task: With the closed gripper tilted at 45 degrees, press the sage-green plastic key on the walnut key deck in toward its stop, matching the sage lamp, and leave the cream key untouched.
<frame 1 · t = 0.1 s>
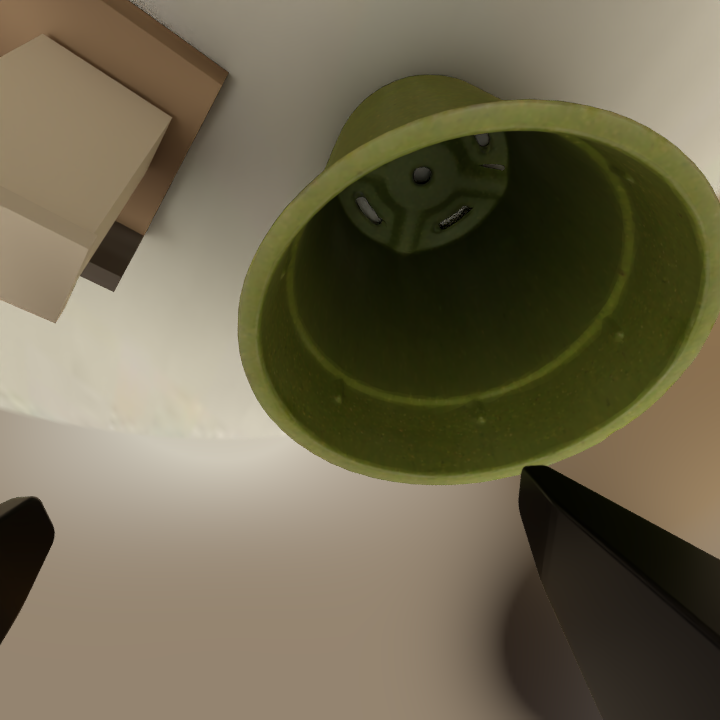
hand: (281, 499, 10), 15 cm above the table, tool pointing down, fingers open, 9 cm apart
cream key: (47, 160, 15), point 6 cm above the table, slide at 0.0 cm
plant pot: (423, 165, 22), on the table
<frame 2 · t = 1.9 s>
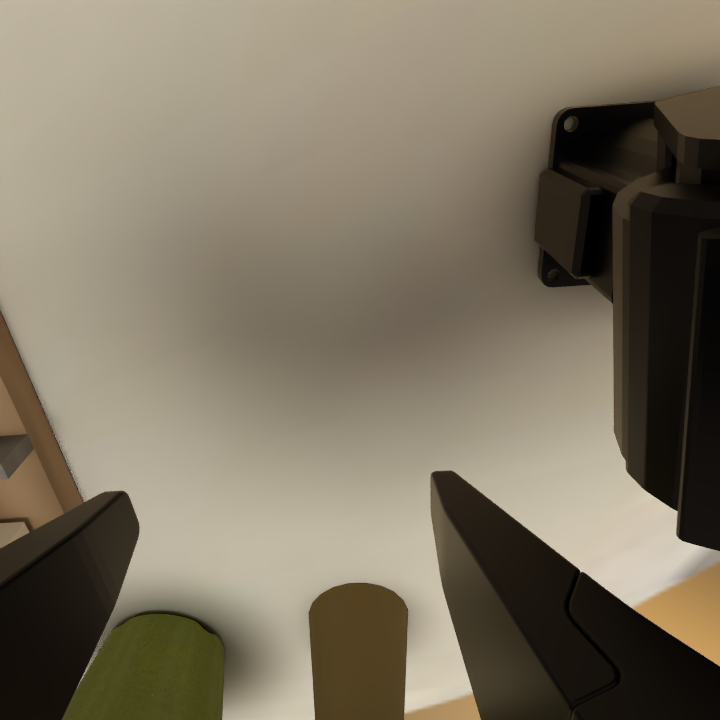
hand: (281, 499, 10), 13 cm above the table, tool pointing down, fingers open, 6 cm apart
plant pot: (171, 644, 33), on the table
cork: (358, 613, 32), on the table
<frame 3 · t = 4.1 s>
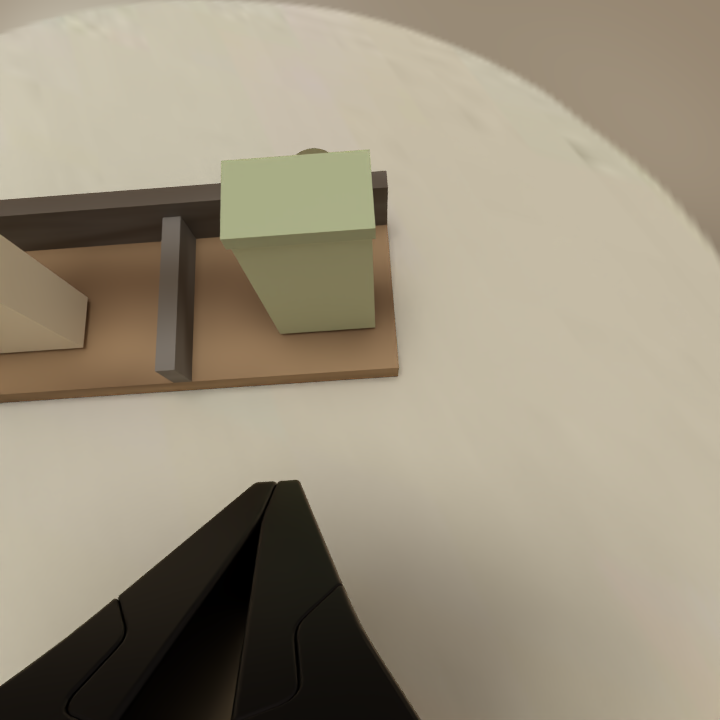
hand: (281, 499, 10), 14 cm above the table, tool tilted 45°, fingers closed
key deck: (196, 329, 25), on the table
sage key: (314, 261, 19), point 6 cm above the table, slide at 0.0 cm
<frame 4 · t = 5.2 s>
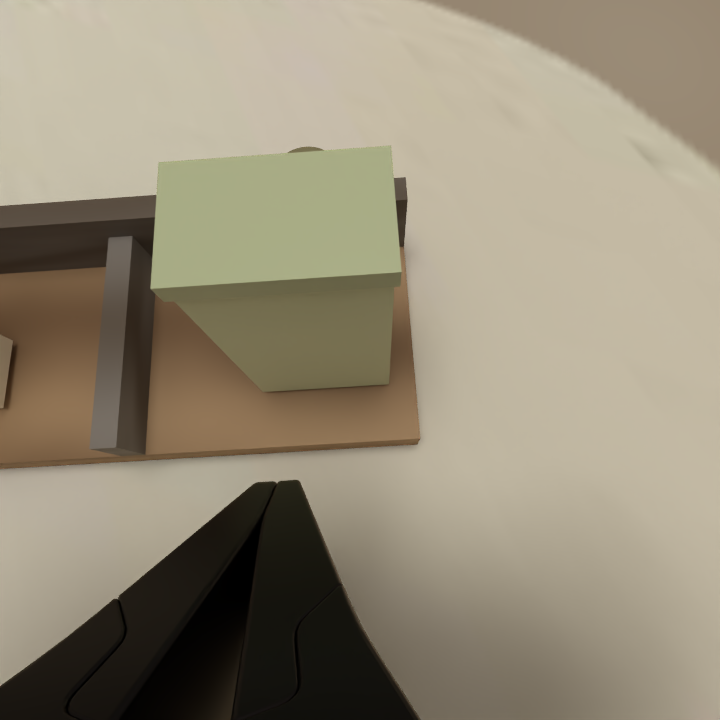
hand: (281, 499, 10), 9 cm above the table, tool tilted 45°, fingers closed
key deck: (157, 379, 20), on the table
sage key: (307, 305, 14), point 6 cm above the table, slide at 0.0 cm
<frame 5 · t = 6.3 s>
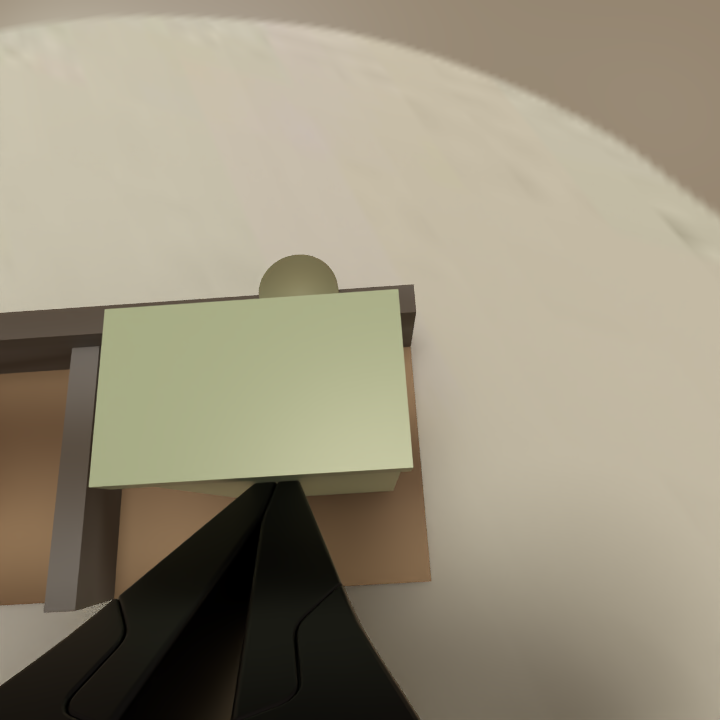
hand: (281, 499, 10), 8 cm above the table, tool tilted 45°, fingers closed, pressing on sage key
key deck: (131, 494, 17), on the table
sage key: (297, 431, 12), point 6 cm above the table, slide at 0.7 cm, touching gripper
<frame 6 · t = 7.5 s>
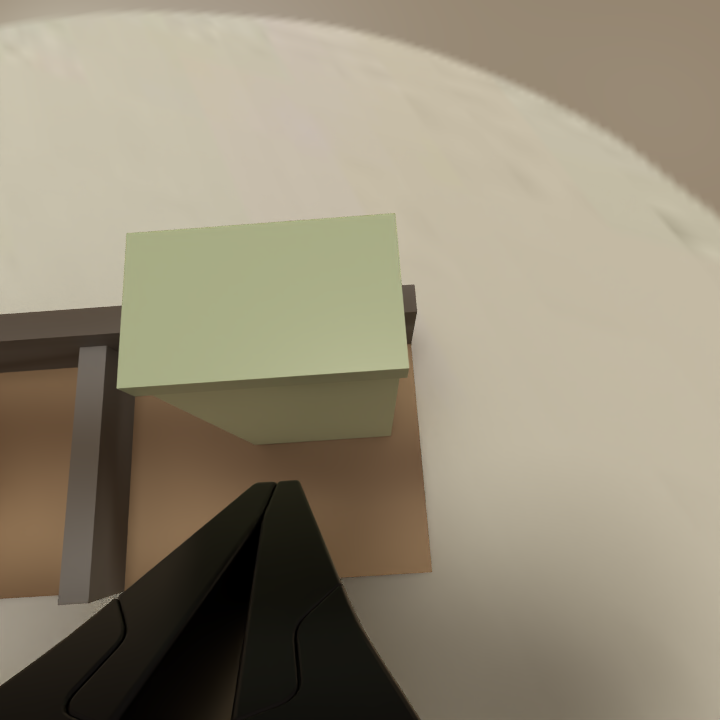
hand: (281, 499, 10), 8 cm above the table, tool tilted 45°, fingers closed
key deck: (138, 489, 18), on the table
sage key: (301, 367, 12), point 6 cm above the table, slide at 2.2 cm, touching key deck
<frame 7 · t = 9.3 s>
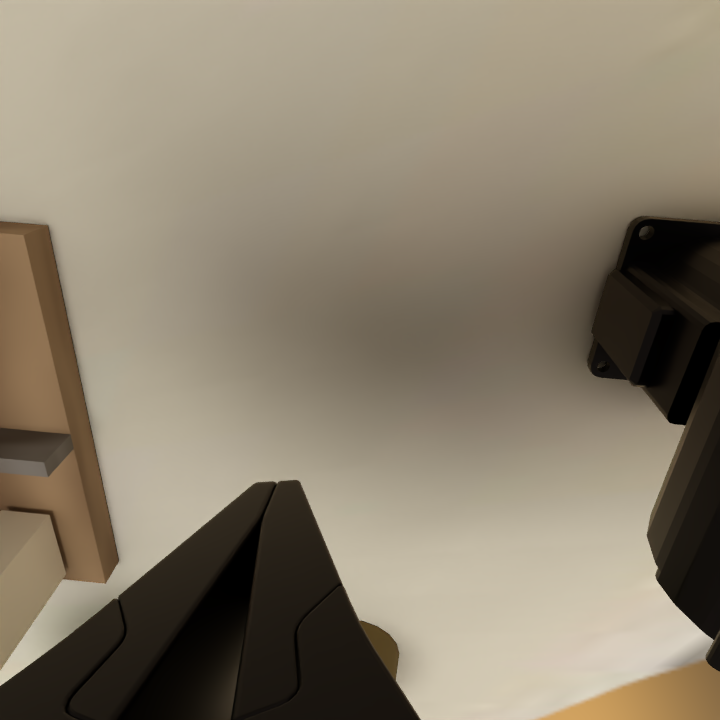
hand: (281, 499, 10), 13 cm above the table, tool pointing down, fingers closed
key deck: (28, 417, 25), on the table
cork: (350, 648, 32), on the table
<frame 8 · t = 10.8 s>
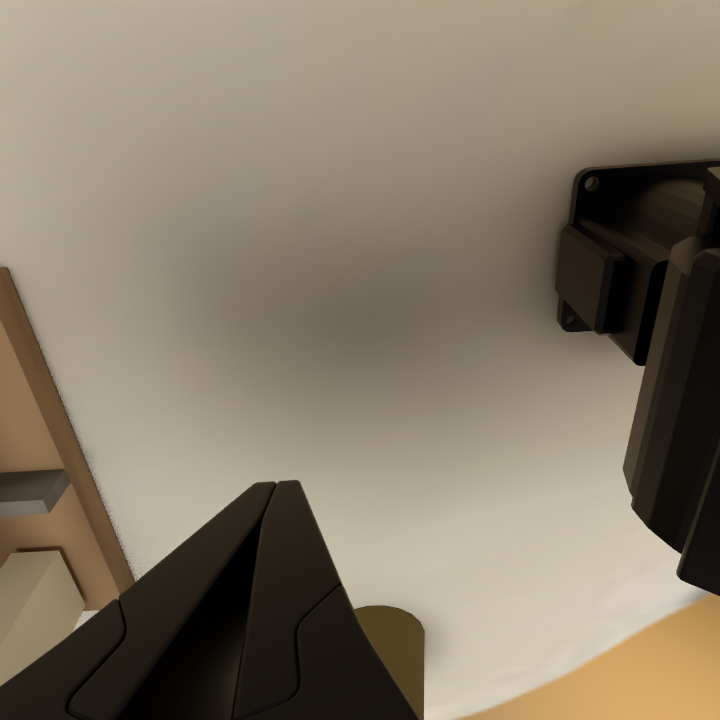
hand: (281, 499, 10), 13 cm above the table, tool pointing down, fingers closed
key deck: (22, 458, 26), on the table
cream key: (0, 662, 23), point 6 cm above the table, slide at 0.0 cm
cork: (376, 634, 33), on the table
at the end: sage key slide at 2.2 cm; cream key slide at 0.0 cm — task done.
